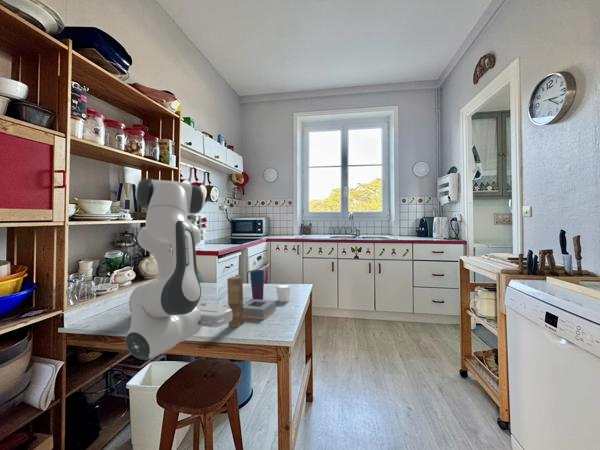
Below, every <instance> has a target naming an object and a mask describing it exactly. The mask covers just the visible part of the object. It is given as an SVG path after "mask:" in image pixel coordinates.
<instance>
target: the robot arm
mask: <svg viewBox="0 0 600 450" xmlns="http://www.w3.org/2000/svg"><path fill="white" fill-rule="evenodd" d="M134 194H135V199H136V202H137V205H139V206H140V208H142V209H146V210H147V211H146V217H145V226H142V227H141V228H140V229H139V231H138V233H137V238H136V239H137V243H138V245H139V246H140V247H141V248H142V249H144V250H145V251H147V252H148V253H149V254H151V255H152V256H153V258H154V260H155V261H156V265H157V266H156V267H157V272H158V273H157V274H158V276H157V277H158V279H154V280H153V281H150V282H146V283H143V284H140V285H138V286H136V288H135V289H133V291H132V293H131V294H130V297H129V303H128V305H129V310H130V312H131V315H130V316H131V320H130V326H129V330H128V331H127V333H126V336H125V346H126V349H127V350H128V352H129V353H130V355H132V356H133V357H135V358H136V359H140V360H149V359H153V358H155V357H157V356H160V355H162V354H164V353H165V352H167V351H170V350H171V349H173V348H174V347H175V346H176V345H177V344H178V343H182V342H184V341H186V340H188V339H190V338H191V337H193V336H195V335H196V334H198V333H199V332H200V331H201V330H202V327H204V328H205V327H206V328H220V327H222V326H224V325H225V324H226V325H227V324H229V322H230V321H231V320H232V318H233V313H232V309H231V308H230V306H229V305H228V304H227V305H225V304H224V305H223V306H222V307H220V306H211V305H210V306H209V305H207V304H206V303H204V302H203V303H202V302H201V303H199V302H200V300H201V298H202V297H201V296H202V287H201V283H200V279H199V275H198V266H197V265H198V264H197V263H198V262H197V252H196V249H197V248H196V246H197V245H198V244H199V243H200V241H201V238H202V232H201V229H200V227H198V226H197V224H193V223H192V222H190V221H189V219H188V213H189V214H198V213H200V212H201V211H202V209H203V208H204V206H205V203H206V194H205V193H204V189H203V188H202V186H199V185H196V184H191V183H190V184H189V183H187V182H186V183H185V182H180V181H176V180H164V179H163V180H162V179H153V178H143V179H142V180H140V181H139V183H138V184H137V186H136V188H135V193H134ZM171 249H172V253H171V251H170V250H171Z"/></svg>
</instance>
